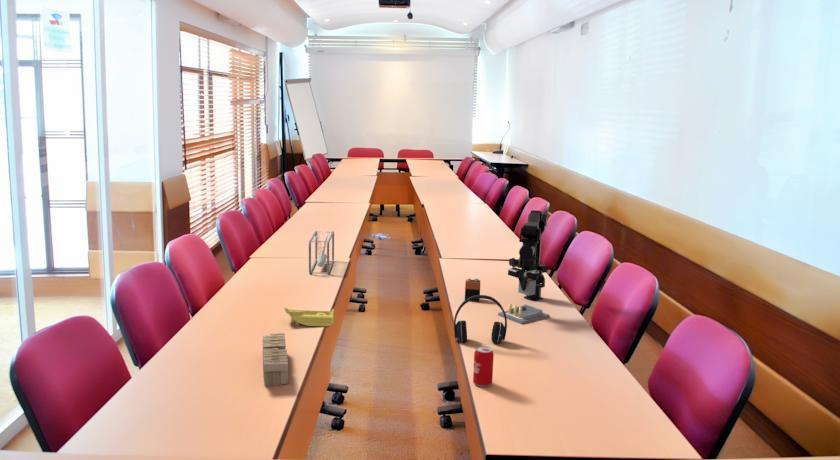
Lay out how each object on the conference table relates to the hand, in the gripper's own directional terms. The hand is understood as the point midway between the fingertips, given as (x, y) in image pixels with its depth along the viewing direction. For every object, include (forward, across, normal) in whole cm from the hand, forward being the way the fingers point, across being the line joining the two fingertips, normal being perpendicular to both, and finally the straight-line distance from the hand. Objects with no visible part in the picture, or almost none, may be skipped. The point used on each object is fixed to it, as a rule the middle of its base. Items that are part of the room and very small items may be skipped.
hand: (526, 289), depth 284 cm
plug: (+2, 0, 0) cm, 2 cm away
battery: (+12, +4, -30) cm, 32 cm away
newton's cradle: (+12, +34, -118) cm, 124 cm away
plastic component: (+12, +82, -42) cm, 93 cm away
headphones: (+12, +38, +13) cm, 42 cm away
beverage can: (+12, +64, +42) cm, 77 cm away
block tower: (+12, +114, -6) cm, 115 cm away
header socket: (+12, 0, 0) cm, 12 cm away
